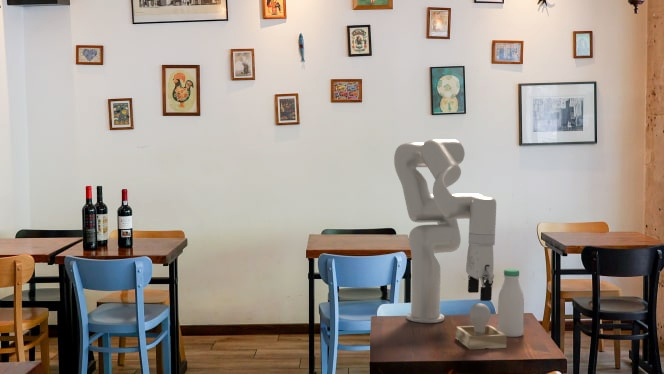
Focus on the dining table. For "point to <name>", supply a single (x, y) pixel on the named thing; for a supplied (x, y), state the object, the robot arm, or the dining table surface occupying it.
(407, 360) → the dining table surface
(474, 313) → the lightbulb
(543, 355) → the dining table surface
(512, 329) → the milk bottle
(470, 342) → the holder
